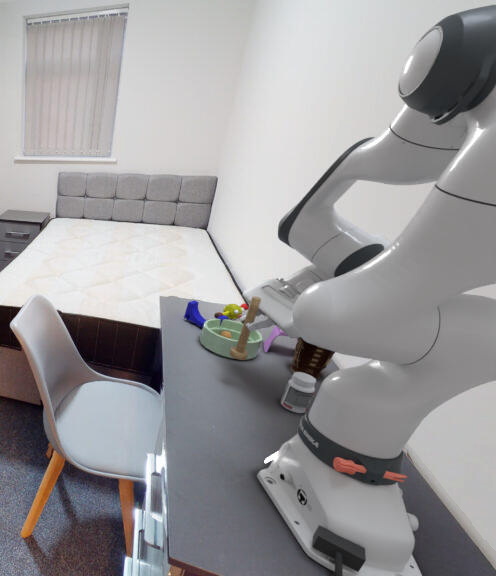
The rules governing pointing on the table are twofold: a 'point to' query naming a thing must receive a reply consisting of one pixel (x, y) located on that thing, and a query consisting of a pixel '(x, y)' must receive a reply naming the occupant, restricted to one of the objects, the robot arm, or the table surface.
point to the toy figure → (232, 311)
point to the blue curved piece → (197, 314)
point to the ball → (226, 334)
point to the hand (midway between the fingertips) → (244, 325)
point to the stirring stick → (245, 331)
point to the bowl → (222, 344)
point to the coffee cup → (310, 358)
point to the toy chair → (273, 337)
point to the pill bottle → (298, 392)
